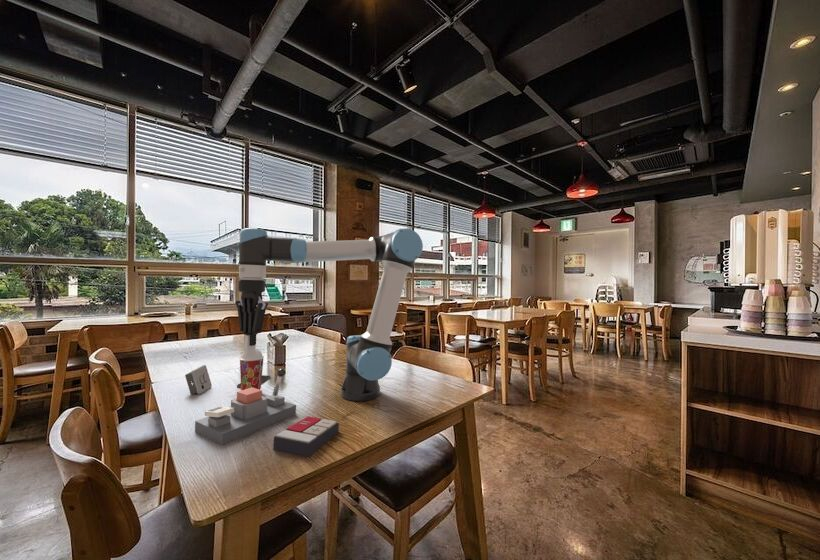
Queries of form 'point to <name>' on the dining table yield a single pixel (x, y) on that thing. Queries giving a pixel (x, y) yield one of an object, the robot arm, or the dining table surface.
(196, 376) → the electrical switch
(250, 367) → the smoothie
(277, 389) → the toggle lever
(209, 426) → the switch panel
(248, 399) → the push button
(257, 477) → the dining table surface
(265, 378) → the phone
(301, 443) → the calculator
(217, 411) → the rocker switch
